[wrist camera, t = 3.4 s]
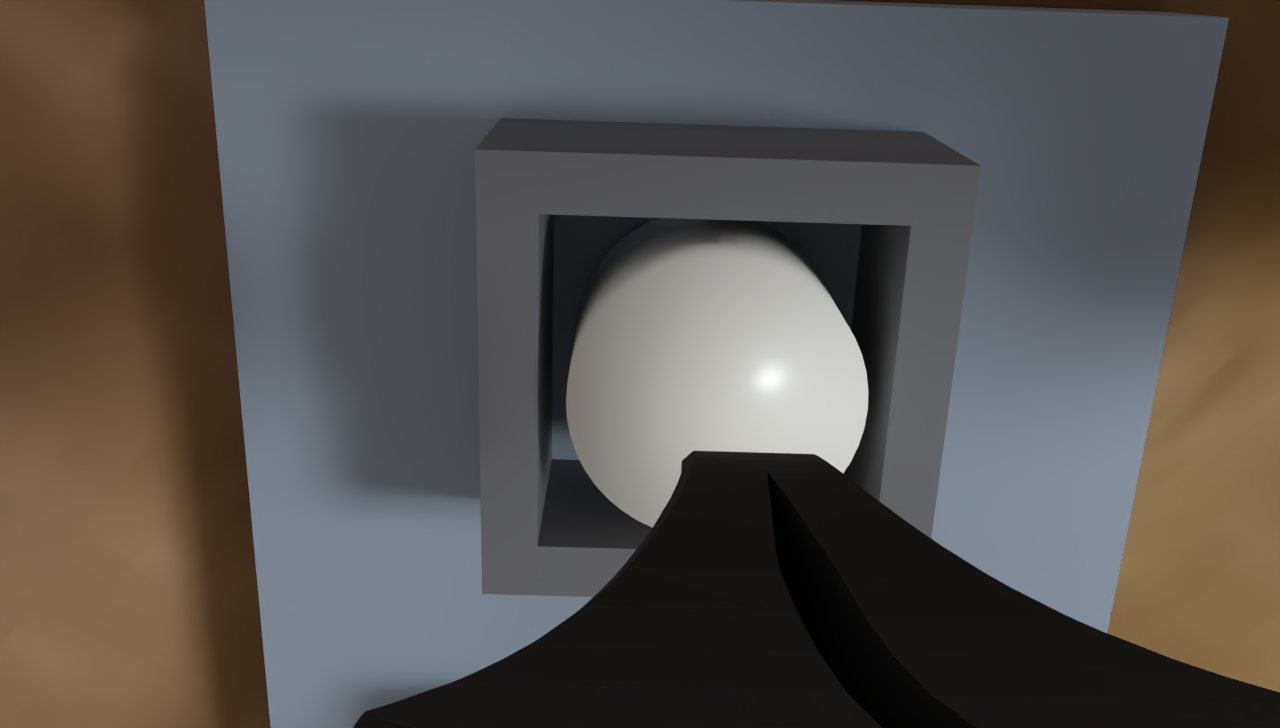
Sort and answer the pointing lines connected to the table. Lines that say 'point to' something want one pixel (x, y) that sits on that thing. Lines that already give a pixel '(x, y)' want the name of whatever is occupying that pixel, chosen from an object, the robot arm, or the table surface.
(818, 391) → the cream plunger
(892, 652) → the robot arm
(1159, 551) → the table surface
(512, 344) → the panel
